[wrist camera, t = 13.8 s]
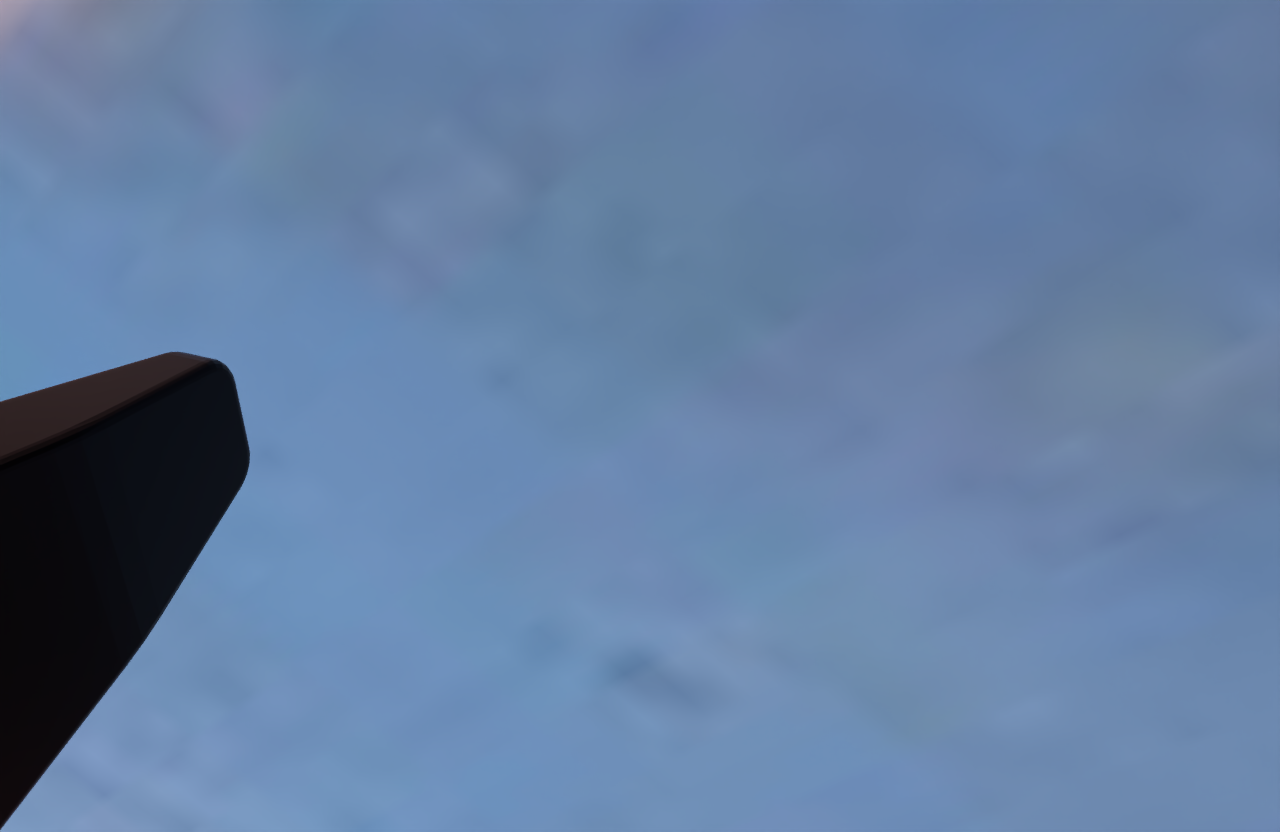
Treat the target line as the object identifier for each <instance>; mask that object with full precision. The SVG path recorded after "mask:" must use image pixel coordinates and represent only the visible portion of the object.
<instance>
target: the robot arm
mask: <svg viewBox="0 0 1280 832" xmlns="http://www.w3.org/2000/svg"><path fill="white" fill-rule="evenodd" d="M249 461H250V451H249V445H248V440H247V435H246V431H245V426H244V421H243V417H242V412H241V407H240V403H239V398H238V393H237V389H236V384H235V380H234V377H233V374H232V373H231V371H230V370H229V368H228V367H227V366H226V365H225V364H223V363H222V362H220V361H218V360H215V359H211V358H206V357H202V356H197V355H193V354H188V353H183V352H169V353H165V354H161V355H158V356H155V357H151V358H148V359H144V360H141V361H137V362H134V363H131V364H127V365H124V366H120V367H117V368H114V369H110V370H107V371H103V372H100V373H97V374H93V375H90V376H86V377H83V378H80V379H76V380H73V381H69V382H66V383H62V384H59V385H56V386H52V387H49V388H45V389H42V390H39V391H35V392H32V393H28V394H25V395H22V396H18V397H15V398H11V399H8V400H5V401H1V402H0V830H1V828H2V827H3V826H4V825H5V823H6V822H7V821H8V819H9V818H10V817H11V815H12V814H13V813H14V812H15V810H16V809H17V808H18V806H19V805H20V804H21V802H22V801H23V800H24V799H25V797H26V796H27V795H28V793H29V792H30V791H31V789H32V788H33V787H34V786H35V784H36V783H37V782H38V780H39V779H40V778H41V776H42V775H43V774H44V773H45V771H46V770H47V769H48V767H49V766H50V765H51V764H52V762H53V761H54V760H55V758H56V757H57V756H58V754H59V753H60V752H61V751H62V749H63V748H64V747H65V745H66V744H67V743H68V741H69V740H70V739H71V738H72V736H73V735H74V734H75V732H76V731H77V730H78V728H79V727H80V726H81V725H82V723H83V722H84V721H85V719H86V718H87V717H88V715H89V714H90V713H91V712H92V710H93V709H94V708H95V706H96V705H97V704H98V702H99V701H100V700H101V699H102V697H103V696H104V695H105V693H106V692H107V691H108V689H109V688H110V687H111V686H112V684H113V683H114V682H115V680H116V679H117V678H118V676H119V675H120V674H121V673H122V671H123V670H124V669H125V667H126V666H127V665H128V663H129V662H130V660H131V659H132V658H133V656H134V655H135V654H136V652H137V651H138V650H139V648H140V647H141V645H142V644H143V643H144V641H145V640H146V638H147V637H148V635H149V634H150V632H151V631H152V629H153V628H154V626H155V624H156V623H157V621H158V620H159V618H160V617H161V615H162V614H163V612H164V611H165V609H166V607H167V606H168V604H169V603H170V601H171V599H172V598H173V596H174V594H175V593H176V591H177V590H178V588H179V586H180V585H181V583H182V582H183V580H184V578H185V577H186V575H187V573H188V572H189V570H190V569H191V567H192V565H193V564H194V562H195V561H196V559H197V557H198V556H199V554H200V553H201V551H202V549H203V548H204V546H205V544H206V543H207V541H208V540H209V538H210V536H211V535H212V533H213V532H214V530H215V528H216V527H217V525H218V524H219V522H220V520H221V519H222V517H223V515H224V514H225V512H226V511H227V509H228V507H229V506H230V504H231V503H232V501H233V499H234V498H235V496H236V495H237V493H238V491H239V490H240V488H241V486H242V484H243V482H244V480H245V478H246V475H247V472H248V467H249Z"/></svg>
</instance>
